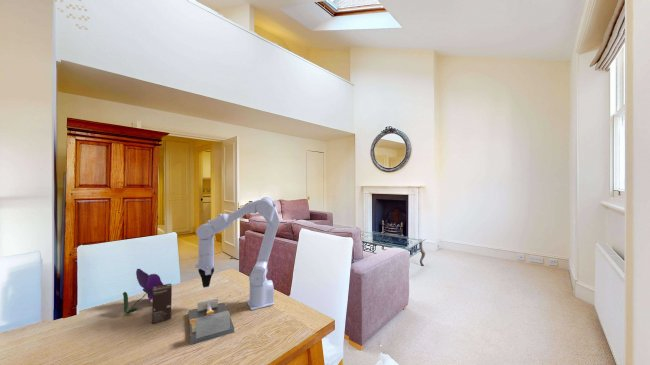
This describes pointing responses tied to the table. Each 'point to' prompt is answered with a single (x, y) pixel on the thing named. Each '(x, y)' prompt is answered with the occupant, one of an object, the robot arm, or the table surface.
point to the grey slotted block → (207, 304)
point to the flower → (146, 283)
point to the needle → (206, 315)
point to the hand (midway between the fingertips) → (206, 286)
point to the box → (161, 302)
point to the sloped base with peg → (210, 323)
